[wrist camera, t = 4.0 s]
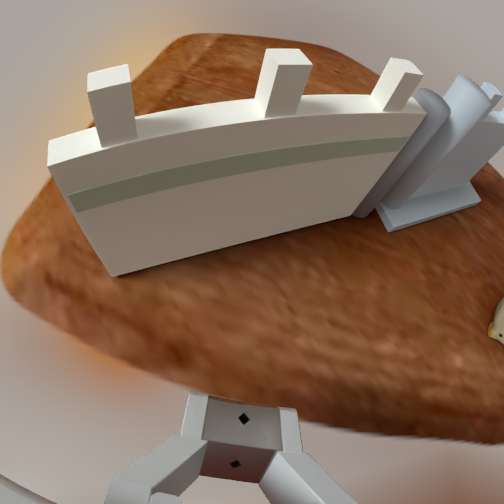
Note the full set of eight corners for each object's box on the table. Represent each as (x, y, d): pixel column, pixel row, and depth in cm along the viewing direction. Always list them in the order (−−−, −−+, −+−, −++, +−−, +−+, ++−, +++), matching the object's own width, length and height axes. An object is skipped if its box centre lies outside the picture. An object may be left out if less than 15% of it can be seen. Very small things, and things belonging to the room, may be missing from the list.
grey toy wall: (451, 163, 28) (520, 82, 16) (476, 204, 26) (557, 128, 15) (357, 177, 24) (439, 52, 13) (388, 232, 22) (498, 117, 11)
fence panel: (361, 192, 23) (451, 65, 12) (374, 215, 22) (476, 91, 11) (107, 252, 18) (31, 82, 7) (112, 283, 17) (21, 124, 6)
